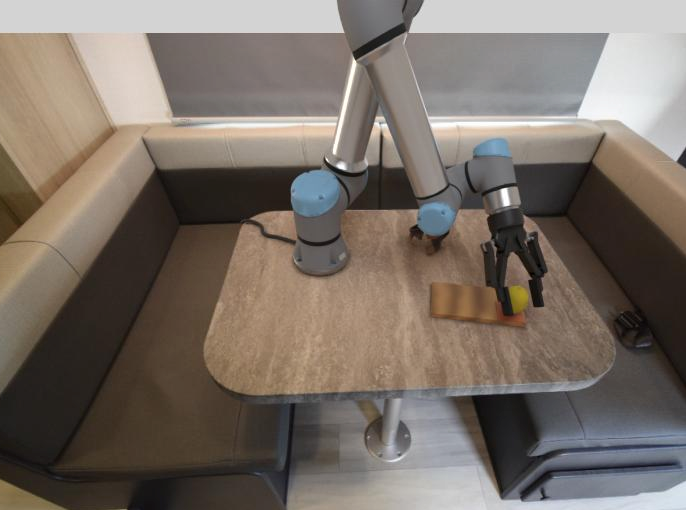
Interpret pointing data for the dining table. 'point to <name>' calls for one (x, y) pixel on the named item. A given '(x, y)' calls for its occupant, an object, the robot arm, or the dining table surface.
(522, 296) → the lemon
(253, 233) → the dining table surface
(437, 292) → the board
